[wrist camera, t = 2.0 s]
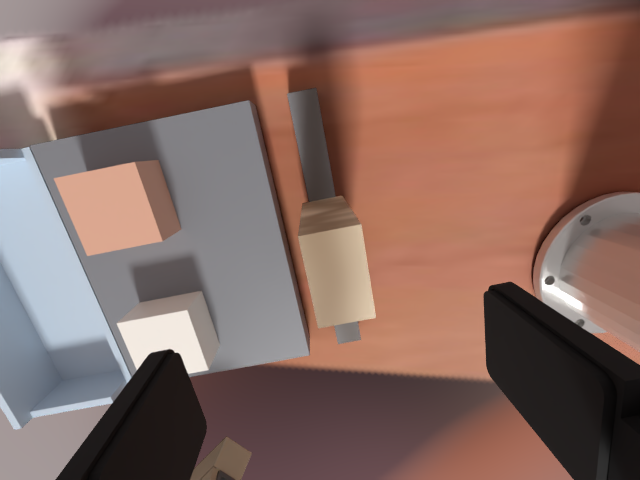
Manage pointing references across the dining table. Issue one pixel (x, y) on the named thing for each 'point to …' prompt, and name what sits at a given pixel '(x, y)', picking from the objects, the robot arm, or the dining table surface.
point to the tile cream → (172, 330)
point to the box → (47, 307)
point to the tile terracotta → (119, 206)
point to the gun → (223, 462)
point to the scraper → (329, 231)
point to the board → (198, 231)
